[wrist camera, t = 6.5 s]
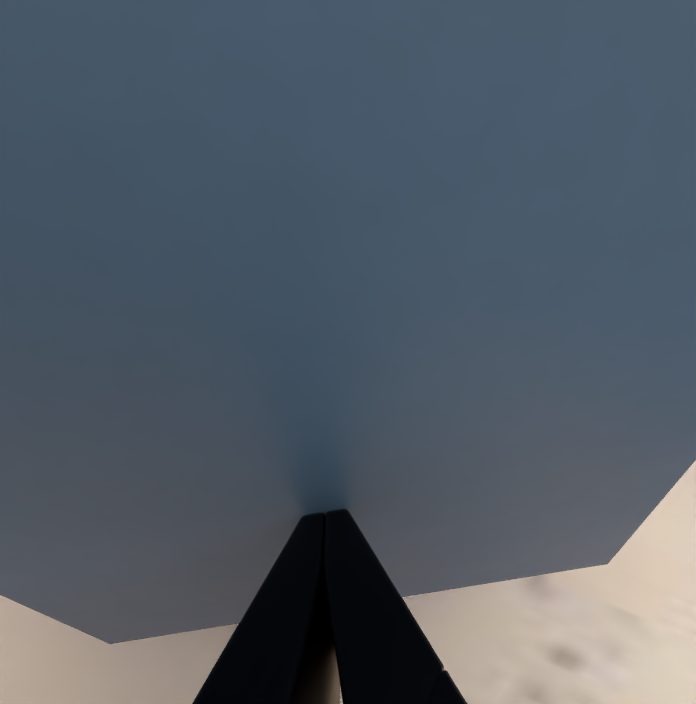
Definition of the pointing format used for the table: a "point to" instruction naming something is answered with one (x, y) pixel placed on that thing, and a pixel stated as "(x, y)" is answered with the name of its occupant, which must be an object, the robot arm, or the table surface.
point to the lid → (337, 291)
